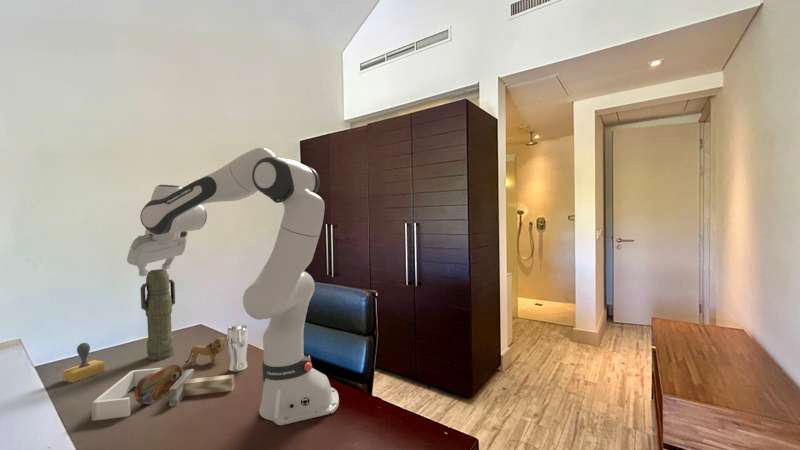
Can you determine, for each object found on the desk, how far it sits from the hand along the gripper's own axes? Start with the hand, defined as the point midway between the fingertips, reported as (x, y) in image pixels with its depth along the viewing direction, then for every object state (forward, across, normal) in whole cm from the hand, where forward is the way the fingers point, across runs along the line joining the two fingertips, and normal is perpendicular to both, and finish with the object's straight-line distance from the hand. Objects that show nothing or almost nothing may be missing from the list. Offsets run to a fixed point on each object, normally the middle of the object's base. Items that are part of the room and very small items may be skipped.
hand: (154, 272), depth 118 cm
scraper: (+31, -6, -29) cm, 43 cm away
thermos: (+43, +20, +7) cm, 48 cm away
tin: (+34, -10, -17) cm, 39 cm away
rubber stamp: (+46, +1, +20) cm, 50 cm away
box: (+36, -12, -10) cm, 39 cm away
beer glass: (+32, +12, -30) cm, 45 cm away
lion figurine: (+36, +16, -15) cm, 43 cm away
